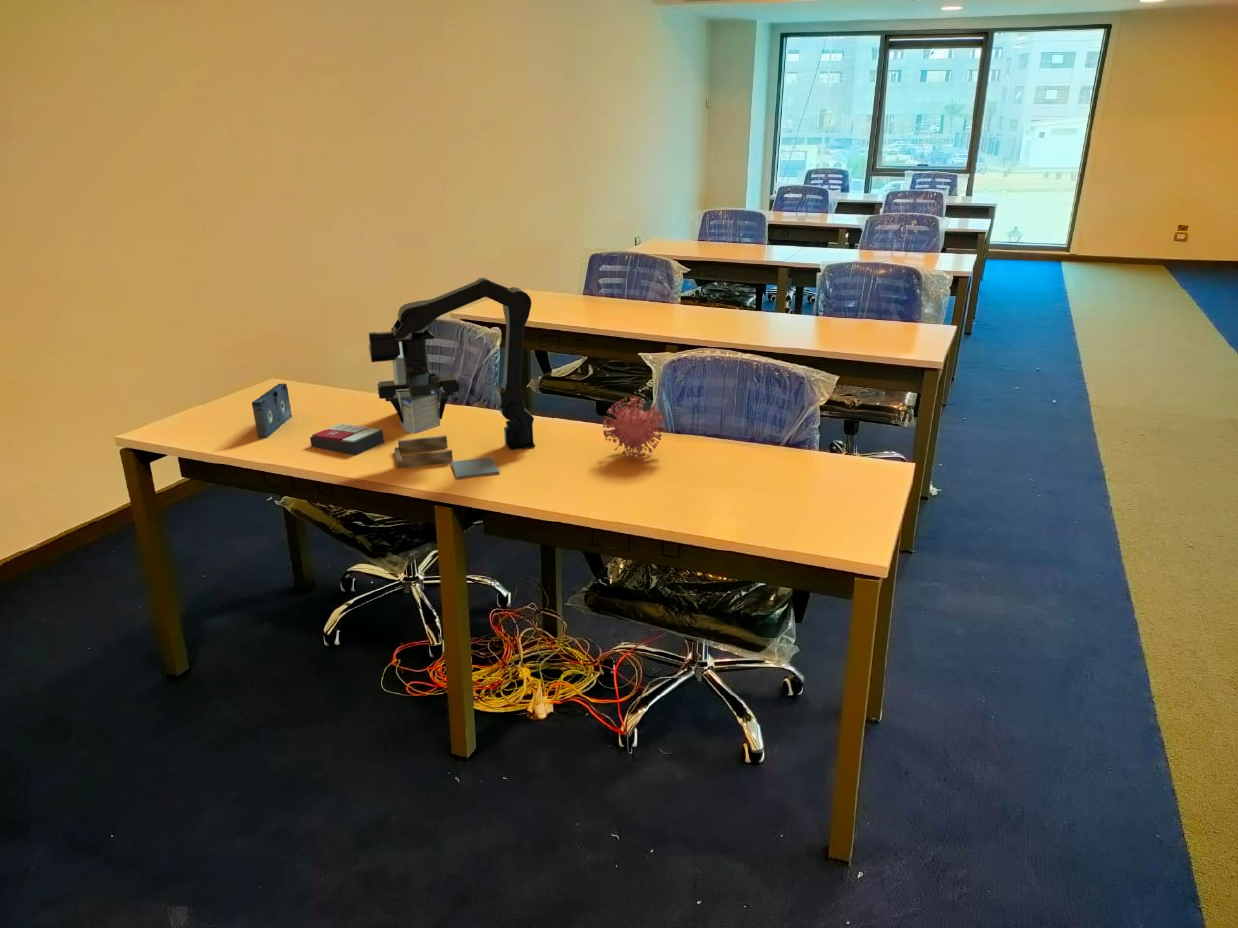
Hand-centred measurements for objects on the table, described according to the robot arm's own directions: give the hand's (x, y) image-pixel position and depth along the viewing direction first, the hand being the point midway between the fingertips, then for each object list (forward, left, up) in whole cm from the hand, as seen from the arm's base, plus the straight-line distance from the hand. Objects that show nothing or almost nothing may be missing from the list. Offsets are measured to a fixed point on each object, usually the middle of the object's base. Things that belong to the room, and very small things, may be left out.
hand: (421, 420), depth 209 cm
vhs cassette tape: (+37, -37, -10) cm, 53 cm away
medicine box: (0, 0, -2) cm, 2 cm away
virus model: (-49, +16, -10) cm, 53 cm away
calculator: (+18, -16, -10) cm, 26 cm away
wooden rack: (0, 0, -9) cm, 9 cm away
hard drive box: (0, -32, -10) cm, 33 cm away
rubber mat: (-11, +12, -9) cm, 19 cm away
